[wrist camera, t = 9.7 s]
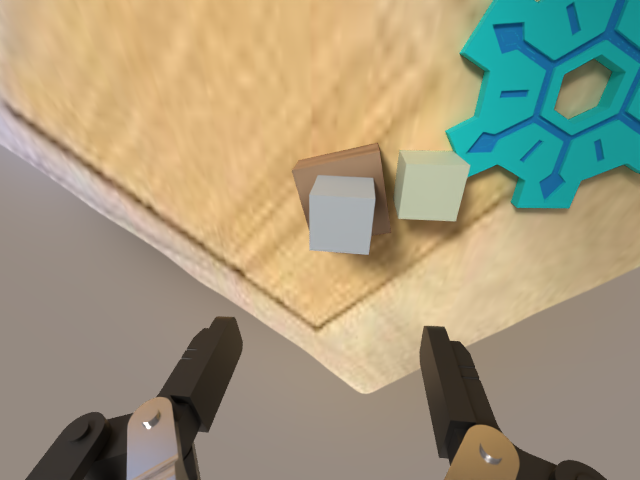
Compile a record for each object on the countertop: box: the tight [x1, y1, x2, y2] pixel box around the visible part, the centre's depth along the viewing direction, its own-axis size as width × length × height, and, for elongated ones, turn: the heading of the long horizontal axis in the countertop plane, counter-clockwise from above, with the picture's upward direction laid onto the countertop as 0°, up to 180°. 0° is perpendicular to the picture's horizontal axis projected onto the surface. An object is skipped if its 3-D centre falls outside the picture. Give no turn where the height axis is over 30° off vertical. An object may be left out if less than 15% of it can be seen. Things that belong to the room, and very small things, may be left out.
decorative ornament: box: [445, 0, 640, 208], centre depth 23 cm, size 20×2×20 cm
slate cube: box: [309, 175, 375, 255], centre depth 25 cm, size 5×5×5 cm
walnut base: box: [292, 143, 391, 236], centre depth 29 cm, size 8×8×4 cm
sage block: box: [393, 150, 470, 221], centre depth 27 cm, size 5×5×5 cm
